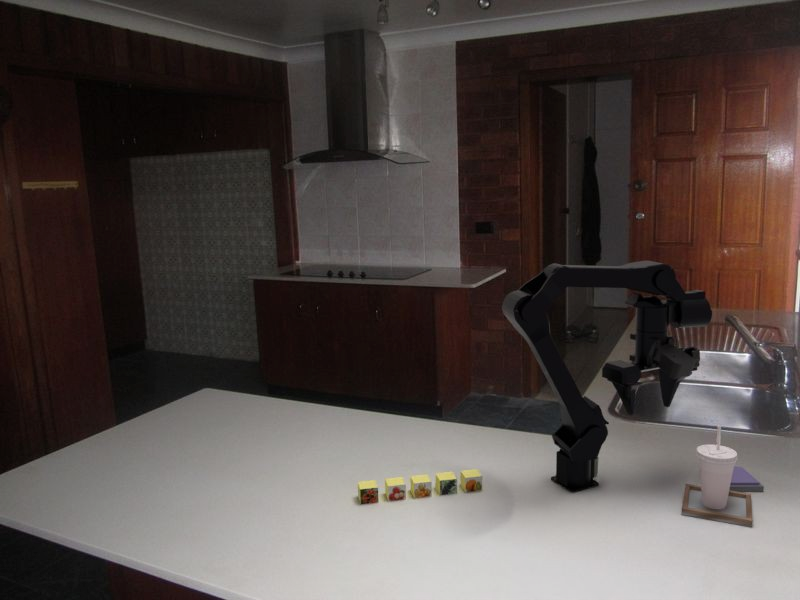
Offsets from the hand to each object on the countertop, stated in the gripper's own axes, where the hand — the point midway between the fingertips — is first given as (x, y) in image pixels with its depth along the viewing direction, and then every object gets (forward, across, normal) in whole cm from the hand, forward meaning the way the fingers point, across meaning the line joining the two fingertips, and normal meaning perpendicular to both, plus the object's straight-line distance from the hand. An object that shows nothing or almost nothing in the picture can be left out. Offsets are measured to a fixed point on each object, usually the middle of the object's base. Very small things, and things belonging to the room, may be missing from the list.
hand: (648, 410), depth 126 cm
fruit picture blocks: (+14, -41, +12) cm, 45 cm away
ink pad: (+13, +12, -9) cm, 20 cm away
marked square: (+13, +1, -15) cm, 20 cm away
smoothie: (+13, +1, -15) cm, 19 cm away
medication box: (+13, -7, +10) cm, 18 cm away
